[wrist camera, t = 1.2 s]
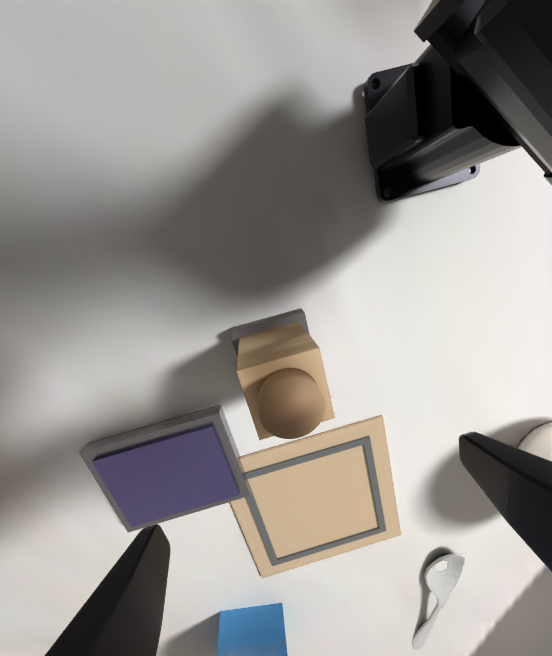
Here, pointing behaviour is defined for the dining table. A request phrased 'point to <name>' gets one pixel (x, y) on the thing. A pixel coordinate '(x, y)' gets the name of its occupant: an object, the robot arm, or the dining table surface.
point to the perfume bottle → (252, 632)
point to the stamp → (282, 375)
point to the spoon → (439, 591)
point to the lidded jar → (539, 441)
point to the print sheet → (318, 497)
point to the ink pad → (168, 468)
